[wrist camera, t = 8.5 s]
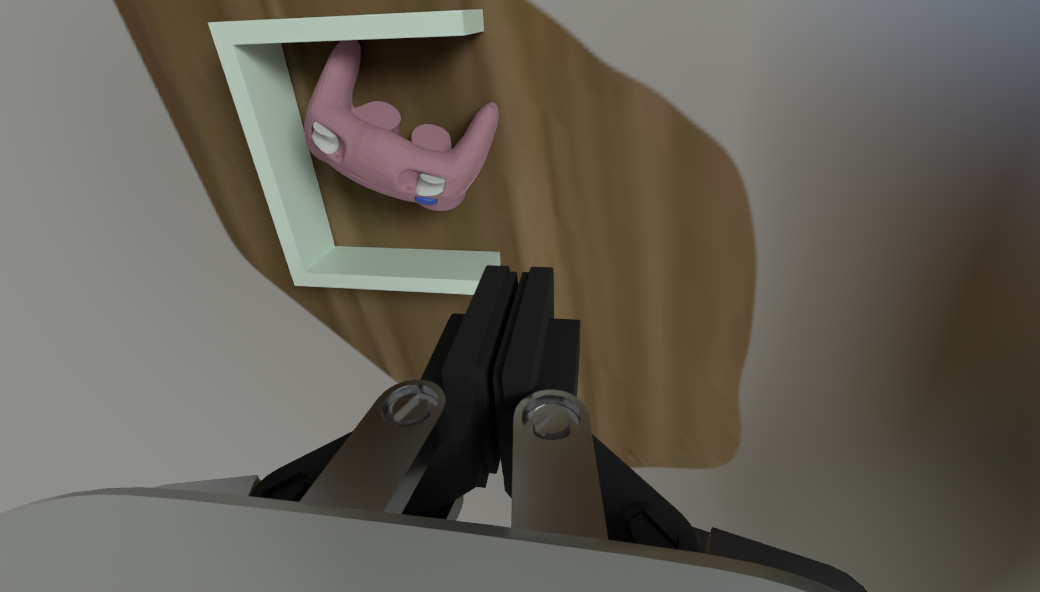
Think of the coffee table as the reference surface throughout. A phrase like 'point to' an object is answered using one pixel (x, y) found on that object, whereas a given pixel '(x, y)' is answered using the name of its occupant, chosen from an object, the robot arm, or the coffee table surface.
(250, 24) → the box
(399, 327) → the coffee table surface
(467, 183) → the video game controller
